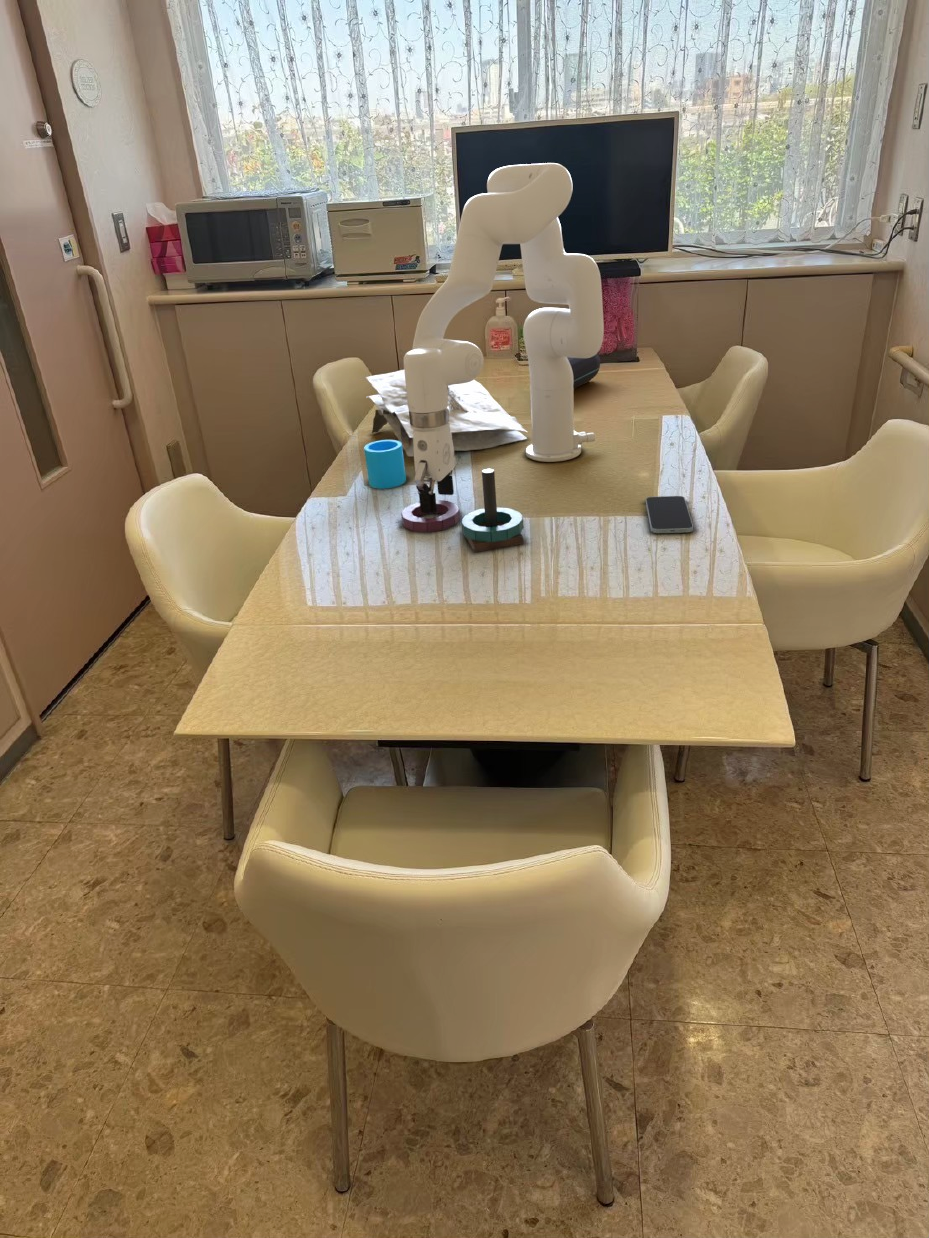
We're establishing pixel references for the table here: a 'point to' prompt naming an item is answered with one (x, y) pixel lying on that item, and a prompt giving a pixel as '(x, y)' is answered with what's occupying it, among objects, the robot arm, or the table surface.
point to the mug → (385, 464)
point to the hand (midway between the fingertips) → (437, 503)
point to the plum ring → (430, 524)
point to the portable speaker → (584, 369)
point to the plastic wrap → (469, 413)
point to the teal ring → (492, 533)
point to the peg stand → (492, 516)
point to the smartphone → (668, 514)
